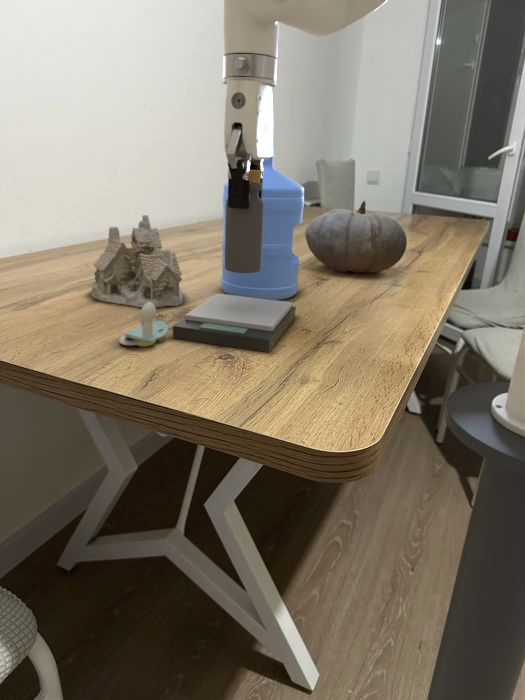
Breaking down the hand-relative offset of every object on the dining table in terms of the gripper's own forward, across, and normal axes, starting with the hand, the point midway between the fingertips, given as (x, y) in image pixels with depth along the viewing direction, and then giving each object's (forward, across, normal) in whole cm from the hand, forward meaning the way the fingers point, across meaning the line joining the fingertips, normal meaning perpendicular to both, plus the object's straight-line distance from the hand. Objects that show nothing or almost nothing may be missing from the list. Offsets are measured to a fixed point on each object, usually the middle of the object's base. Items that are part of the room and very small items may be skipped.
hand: (245, 205), depth 79 cm
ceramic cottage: (+19, +8, +23) cm, 31 cm away
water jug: (+19, +22, +3) cm, 29 cm away
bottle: (+10, 0, 0) cm, 10 cm away
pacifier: (+19, -14, +11) cm, 26 cm away
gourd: (+19, +54, -12) cm, 58 cm away
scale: (+19, -2, 0) cm, 19 cm away
